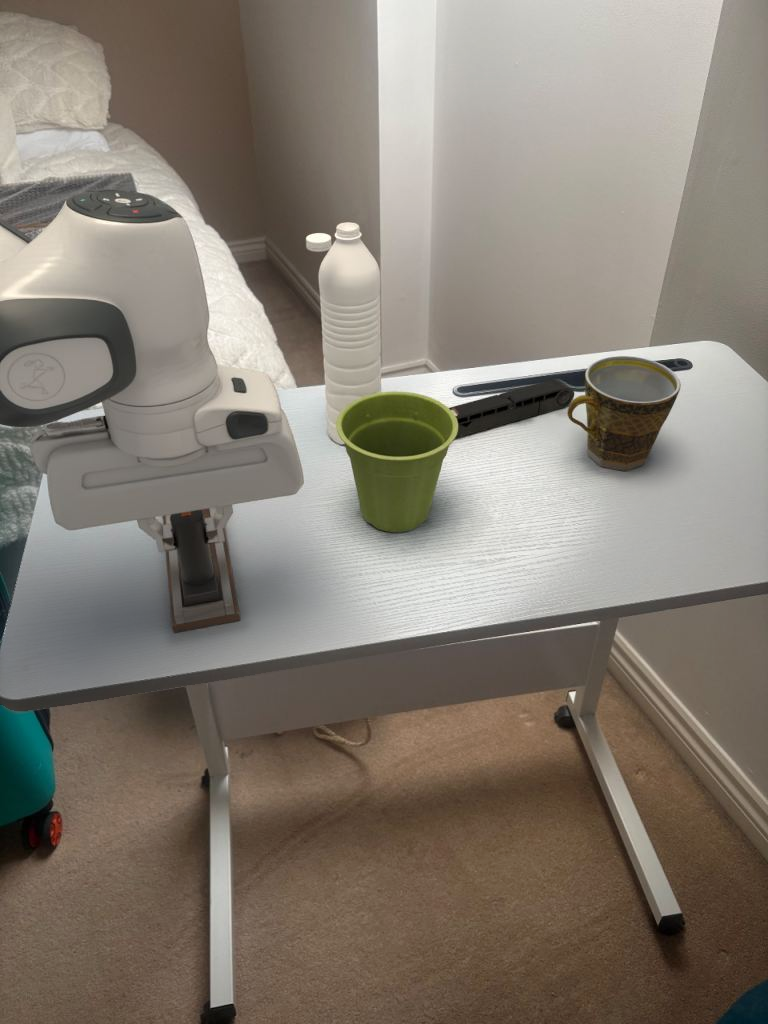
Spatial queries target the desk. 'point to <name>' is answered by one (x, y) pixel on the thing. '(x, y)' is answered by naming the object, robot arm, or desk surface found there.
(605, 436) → the ceramic cup
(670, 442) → the desk surface
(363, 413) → the plant pot
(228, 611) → the rail
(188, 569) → the nozzle
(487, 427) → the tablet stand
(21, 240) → the robot arm
